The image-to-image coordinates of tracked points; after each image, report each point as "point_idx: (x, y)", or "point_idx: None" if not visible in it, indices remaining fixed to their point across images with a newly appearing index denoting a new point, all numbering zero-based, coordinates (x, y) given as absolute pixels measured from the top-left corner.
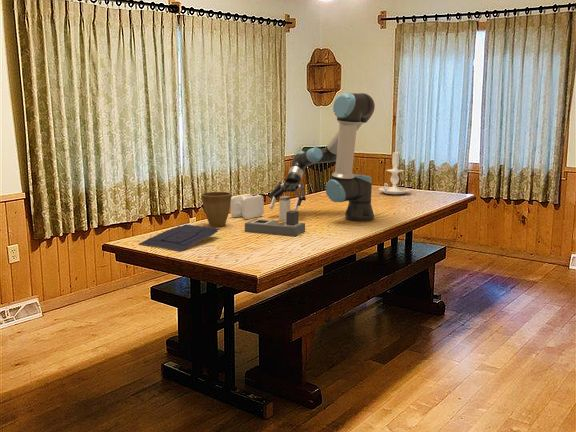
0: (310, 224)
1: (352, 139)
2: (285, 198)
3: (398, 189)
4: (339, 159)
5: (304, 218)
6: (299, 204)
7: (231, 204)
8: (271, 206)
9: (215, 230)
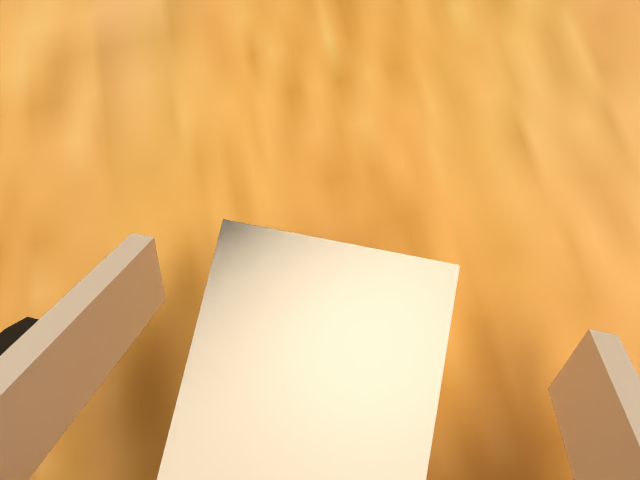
0: (41, 147)
1: None
2: (258, 227)
3: None
4: None
5: (119, 453)
6: (22, 334)
7: None
8: (587, 352)
9: None
